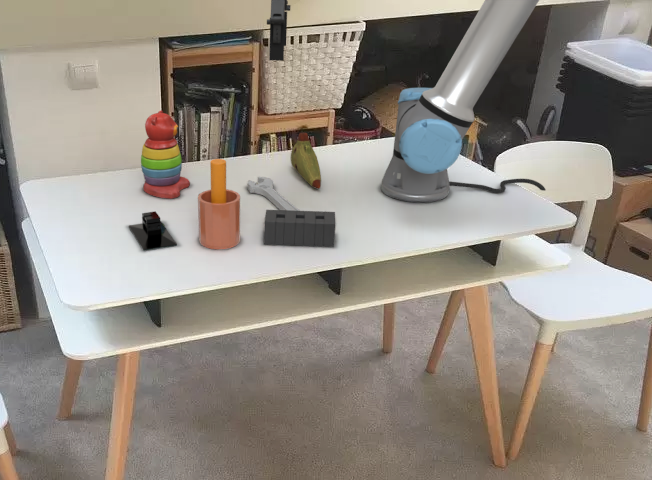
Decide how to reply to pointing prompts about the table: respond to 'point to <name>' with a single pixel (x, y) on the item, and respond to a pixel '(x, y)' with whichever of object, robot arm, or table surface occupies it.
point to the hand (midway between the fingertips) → (278, 52)
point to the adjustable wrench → (270, 193)
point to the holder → (299, 228)
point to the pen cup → (219, 221)
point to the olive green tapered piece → (306, 161)
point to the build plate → (152, 233)
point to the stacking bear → (162, 158)
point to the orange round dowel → (218, 181)
